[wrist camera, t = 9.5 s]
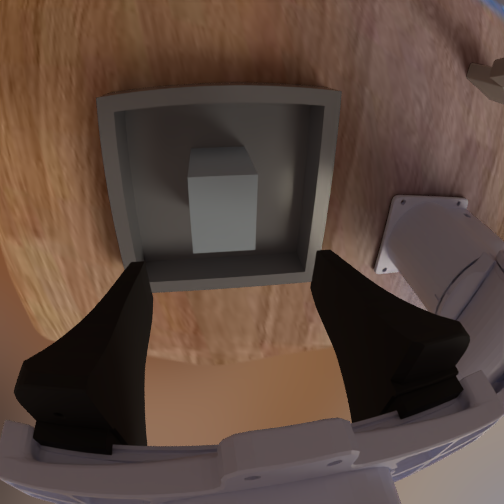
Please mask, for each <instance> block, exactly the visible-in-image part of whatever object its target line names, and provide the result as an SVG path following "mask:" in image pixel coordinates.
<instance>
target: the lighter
mask: <svg viewBox="0 0 504 504" xmlns="http://www.w3.org/2000/svg"><path fill="white" fill-rule="evenodd" d="M467 79H468V80H469V81H470V82H472V83H473V84H474V85H475V86H476V87H477V88H478V89H479V90H480V91H481V92H482V93H483V94H484V95H485V96H486V97H488V98H489V99H490V100H492V101H495V102H498V103H501V104H504V58H500V59H497V60H495V61H494V63H493V66H492V67H490V66H485V65H481V64H476V63H471V64H470V67H469V70H468V73H467Z"/></svg>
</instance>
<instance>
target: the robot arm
mask: <svg viewBox="0 0 504 504" xmlns="http://www.w3.org/2000/svg"><path fill="white" fill-rule="evenodd" d="M402 200H403V202H402V203H401V201H402ZM457 202H458V203H457ZM467 206H468V200H467V199H466V198H459V197H440V196H416V195H396V196H394V197H393V199H392V202H391V207H390V211H389V215H388V219H387V223H386V227H385V231H384V235H383V239H382V243H381V246H380V250H379V253H378V257H377V261H376V264H375V267H374V271H375V273H376V274H385V273H394V272H400V273H401V275H402V276H403V277H404V279H405V280H406V281H407V283H408V284H409V285H410V287H411V288H412V289H413V291H414V292H415V293H416V295H417V296H418V297H419V299H420V300H421V302H422V303H423V304H424V306H425V307H426V309H427V310H428V311H429V312H428V311H426V310H423V309H421V308H418V307H416V306H414V305H412V304H410V303H408V302H406V301H404V300H402V299H400V298H398V297H396V296H395V295H393V294H391V293H389V292H388V291H386V290H384V289H383V288H381V287H380V286H378V285H377V284H375V283H374V282H372V281H371V280H369V279H368V278H367V277H365V276H364V275H363V274H361V273H360V272H359V271H357V270H356V269H355V268H353V267H352V266H351V265H350V264H348V263H347V262H346V261H344V260H343V259H342V258H341V257H339V256H338V255H337V254H335V253H334V252H332V251H331V250H318V251H317V252H316V258H315V264H314V270H313V276H312V281H311V287H310V288H311V291H312V295H313V299H314V302H315V306H316V308H317V311H318V313H319V315H320V318H321V320H322V322H323V324H324V327H325V329H326V331H327V334H328V336H329V338H330V340H331V343H332V345H333V347H334V350H335V353H336V355H337V359H338V362H339V366H340V370H341V373H342V376H343V381H344V384H345V389H346V393H347V398H348V403H349V408H350V413H351V419H352V423H351V424H350V421H347V420H344V419H341V418H331V419H323V420H318V421H313V422H307V423H302V424H296V425H290V426H285V427H278V428H270V429H262V430H254V431H248V432H243V433H238V434H233V435H231V436H229V437H227V438H225V439H223V440H222V441H221V442H220V443H219V445H203V446H161V447H160V446H147V438H146V424H145V400H144V379H145V363H146V356H147V349H148V343H149V337H150V330H151V324H152V314H153V296H152V291H151V287H150V282H149V278H148V273H147V268H146V263H145V261H139V262H131V263H130V264H129V265H128V266H127V268H126V269H125V270H124V272H123V273H122V274H121V276H120V277H119V278H118V280H117V281H116V282H115V283H114V285H113V286H112V287H111V288H110V290H109V291H108V292H107V294H106V295H105V296H104V297H103V298H102V299H101V301H100V302H99V303H98V304H97V305H96V306H95V308H94V309H93V310H92V311H91V312H90V313H89V314H88V315H87V316H86V317H85V318H84V319H83V320H82V321H81V322H79V323H78V324H77V325H76V326H75V327H74V328H72V329H71V330H70V331H69V332H68V333H66V334H65V335H64V336H63V337H61V338H60V339H59V340H57V341H56V342H55V343H53V344H52V345H50V346H49V347H47V348H46V349H44V350H43V351H41V352H39V353H37V354H36V355H34V356H32V357H30V358H29V359H27V360H25V361H24V362H23V365H22V367H21V370H20V373H19V376H18V379H17V383H16V385H15V389H14V394H15V396H16V399H17V400H18V401H19V403H20V404H21V405H22V406H23V407H24V408H25V409H26V410H27V412H28V413H30V415H31V416H33V418H34V419H35V420H36V425H35V428H34V427H32V426H30V425H27V424H24V423H20V422H15V421H10V420H5V423H4V427H3V431H2V435H1V439H0V480H2V481H4V482H5V483H7V484H9V485H10V486H12V487H14V488H16V489H18V490H19V491H21V492H23V493H25V494H27V495H29V496H31V497H35V498H39V499H42V500H46V501H49V502H53V503H56V504H401V502H400V499H399V496H398V493H397V490H396V487H395V485H394V482H396V481H398V480H401V479H403V478H405V477H407V476H409V475H411V474H414V473H416V472H418V471H420V470H422V469H424V468H426V467H428V466H430V465H432V464H434V463H436V462H438V461H440V460H442V459H444V458H445V457H447V456H449V455H451V454H453V453H455V452H456V451H458V450H460V449H462V448H464V447H465V446H467V445H469V444H471V443H472V442H474V441H476V440H477V439H478V438H479V437H481V436H482V435H483V434H484V433H485V432H486V431H488V430H489V429H490V428H491V427H492V426H493V425H494V424H495V423H497V421H499V420H500V419H501V418H502V417H503V416H504V242H503V240H502V239H501V238H500V237H499V236H497V235H496V234H495V233H494V232H493V231H492V230H491V229H489V228H488V227H487V226H486V225H485V224H484V223H482V222H481V221H480V220H479V219H478V218H476V217H475V216H474V215H473V214H471V213H470V212H469V211H468V210H466V209H467ZM383 268H384V269H383Z"/></svg>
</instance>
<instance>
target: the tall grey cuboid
mask: <svg viewBox="0 0 504 504" xmlns="http://www.w3.org/2000/svg"><path fill="white" fill-rule="evenodd" d="M257 189H258V174H257V171H256V169H255V167H254V165H253V163H252V161H251V159H250V157H249V155H248V153H247V151H246V149H245V147H213V148H193V149H191V153H190V161H189V169H188V193H189V207H190V221H191V233H192V245H193V253H210V252H226V251H243V250H255V243H256V217H257Z"/></svg>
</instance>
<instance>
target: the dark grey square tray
mask: <svg viewBox="0 0 504 504" xmlns="http://www.w3.org/2000/svg"><path fill="white" fill-rule="evenodd" d="M341 93H342V91H338V90H334V89H331V88H327V87H322V86H311V85H298V84H281V83H246V82H233V83H198V84H181V85H168V86H157V87H148V88H139V89H132V90H124V91H117V92H111V93H108V94H105V95H102V96H100V97H97V98H96V103H97V114H98V124H99V133H100V142H101V149H102V157H103V164H104V171H105V177H106V183H107V189H108V195H109V200H110V206H111V211H112V216H113V221H114V226H115V231H116V235H117V240H118V244H119V249H120V253H121V257H122V261H123V265H124V269H126V268H127V266H128V265H129V264H130V263H131V262H139V261H145V263H146V268H147V273H148V278H149V282H150V287H151V291H152V293H156V292H175V291H193V290H209V289H224V288H239V287H252V286H265V285H278V284H290V283H302V282H311V281H312V276H313V270H314V264H315V258H316V252H317V251H318V250H321V249H322V243H323V237H324V231H325V224H326V218H327V211H328V205H329V198H330V191H331V183H332V176H333V168H334V160H335V152H336V143H337V134H338V125H339V115H340V105H341ZM213 147H245V149H246V151H247V153H248V155H249V157H250V159H251V161H252V163H253V165H254V167H255V169H256V171H257V174H258V189H257V217H256V243H255V250H243V251H226V252H210V253H193V245H192V233H191V221H190V207H189V193H188V169H189V161H190V153H191V149H193V148H213Z"/></svg>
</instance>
